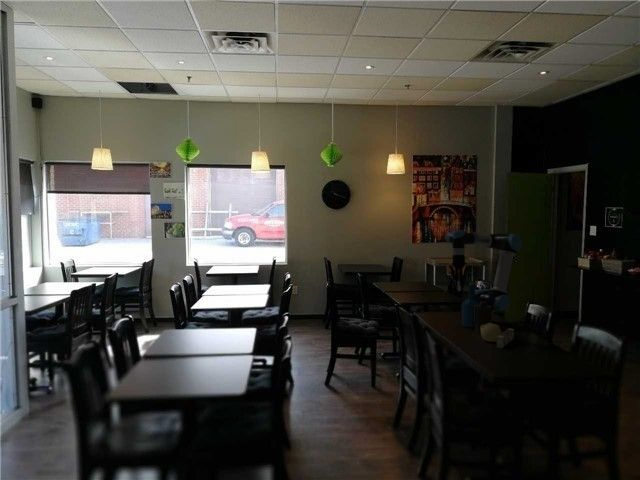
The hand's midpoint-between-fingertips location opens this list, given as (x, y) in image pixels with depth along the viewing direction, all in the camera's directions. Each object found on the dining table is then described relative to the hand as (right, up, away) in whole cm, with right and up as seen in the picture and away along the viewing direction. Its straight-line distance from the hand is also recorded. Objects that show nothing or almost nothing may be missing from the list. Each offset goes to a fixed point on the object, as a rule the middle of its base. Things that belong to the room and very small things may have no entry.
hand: (459, 290), depth 296 cm
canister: (+16, -27, +1) cm, 32 cm away
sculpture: (+14, -29, -19) cm, 37 cm away
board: (+20, -28, -23) cm, 42 cm away
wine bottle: (+14, -27, +19) cm, 36 cm away
